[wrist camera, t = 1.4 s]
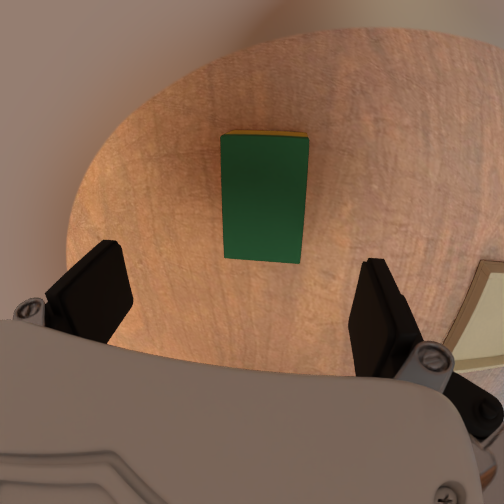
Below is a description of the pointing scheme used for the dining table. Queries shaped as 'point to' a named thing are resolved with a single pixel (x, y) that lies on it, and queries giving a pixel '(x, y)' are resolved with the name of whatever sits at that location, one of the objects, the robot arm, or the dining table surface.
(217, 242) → the dining table surface
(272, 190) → the sponge
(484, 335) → the tray
